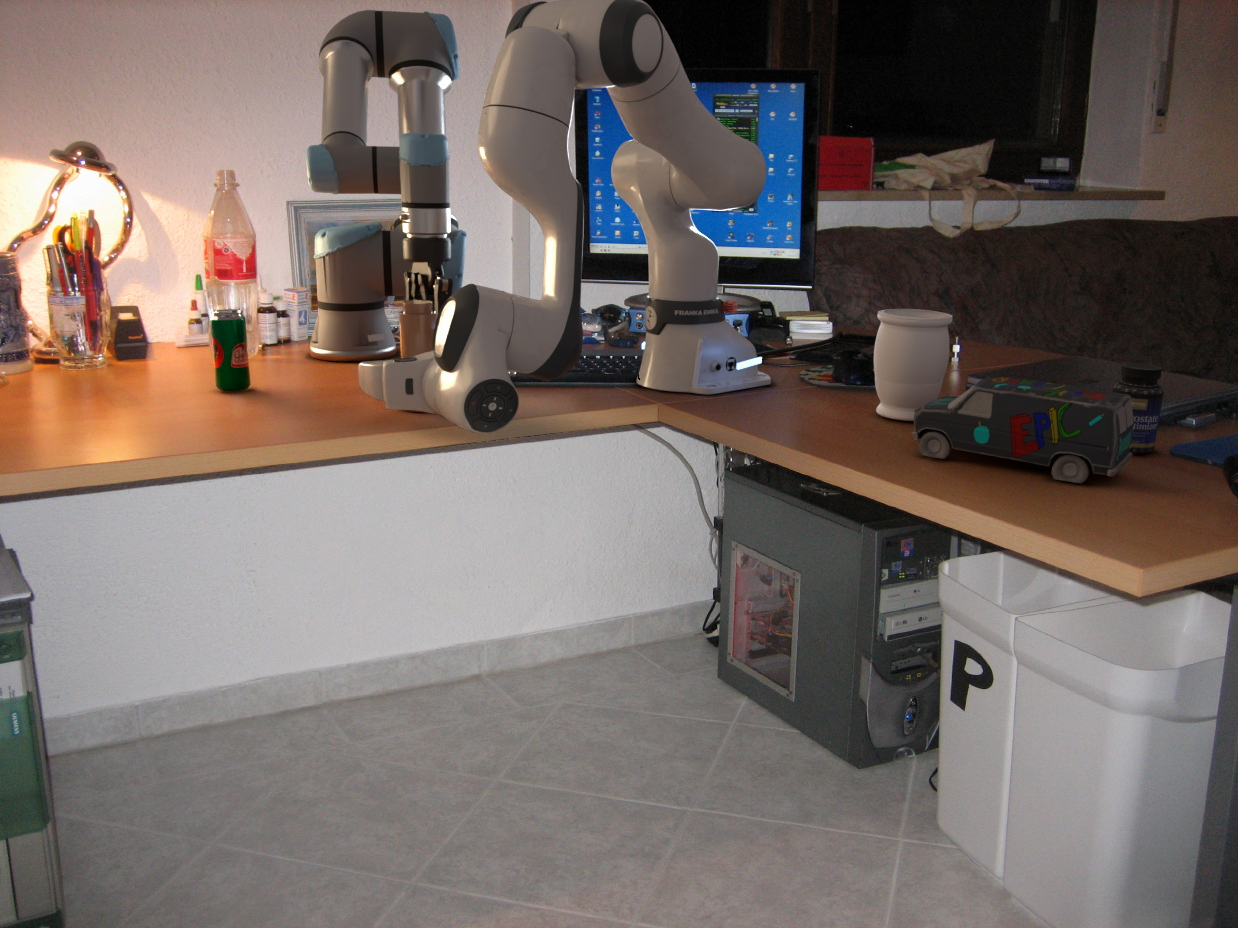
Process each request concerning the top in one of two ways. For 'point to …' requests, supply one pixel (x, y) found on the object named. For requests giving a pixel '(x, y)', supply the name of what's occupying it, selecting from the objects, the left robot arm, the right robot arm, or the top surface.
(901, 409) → the jar
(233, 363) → the soda can
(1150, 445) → the pill bottle
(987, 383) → the toy van
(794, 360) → the top surface
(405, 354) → the screw-top jar
